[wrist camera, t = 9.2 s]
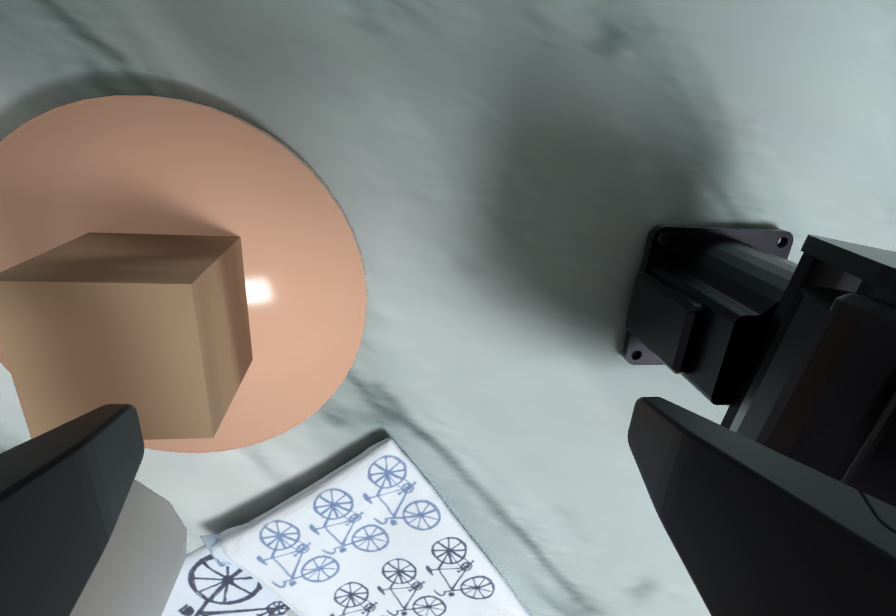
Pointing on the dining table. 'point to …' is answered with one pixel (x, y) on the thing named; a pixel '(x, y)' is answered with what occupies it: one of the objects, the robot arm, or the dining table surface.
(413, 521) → the patterned cloth
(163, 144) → the salmon pink disc
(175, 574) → the cup
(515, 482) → the dining table surface
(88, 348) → the walnut block
